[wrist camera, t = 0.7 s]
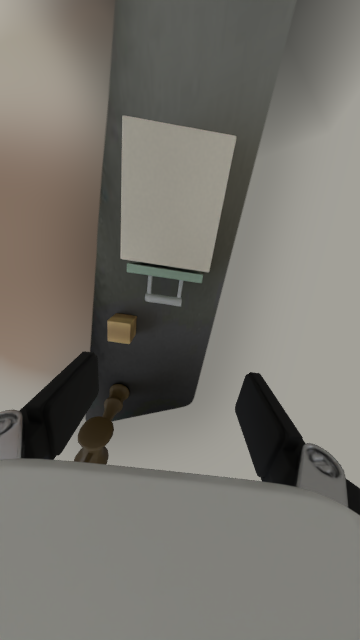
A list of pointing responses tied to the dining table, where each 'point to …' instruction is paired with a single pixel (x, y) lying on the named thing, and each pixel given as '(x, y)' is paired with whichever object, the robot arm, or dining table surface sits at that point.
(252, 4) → the dining table surface
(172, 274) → the green drawer
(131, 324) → the block
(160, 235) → the small drawer cabinet
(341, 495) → the robot arm
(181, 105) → the dining table surface
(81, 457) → the kendama
